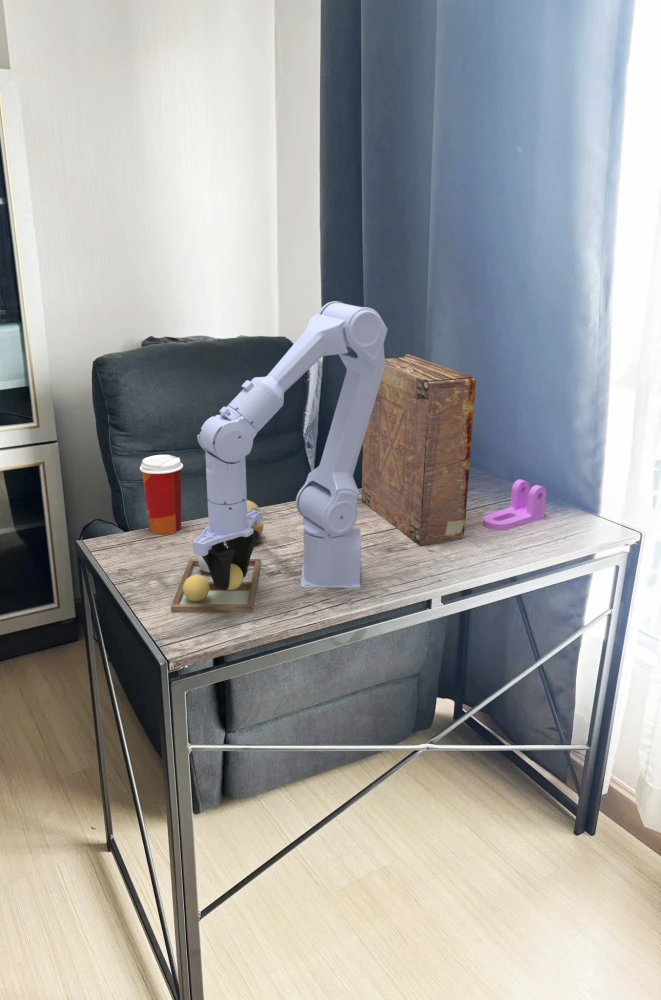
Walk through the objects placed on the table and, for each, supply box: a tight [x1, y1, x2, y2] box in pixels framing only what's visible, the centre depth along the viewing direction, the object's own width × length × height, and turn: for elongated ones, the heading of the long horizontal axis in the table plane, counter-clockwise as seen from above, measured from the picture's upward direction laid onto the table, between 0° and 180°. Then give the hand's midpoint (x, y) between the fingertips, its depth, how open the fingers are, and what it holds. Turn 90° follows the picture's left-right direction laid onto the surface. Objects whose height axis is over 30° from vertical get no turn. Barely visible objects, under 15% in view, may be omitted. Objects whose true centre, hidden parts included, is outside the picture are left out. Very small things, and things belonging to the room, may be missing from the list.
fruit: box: [247, 499, 264, 537], centre depth 144 cm, size 8×8×8 cm
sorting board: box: [170, 558, 262, 614], centre depth 127 cm, size 12×17×2 cm
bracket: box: [482, 478, 547, 532], centre depth 155 cm, size 13×6×7 cm, turn 126°
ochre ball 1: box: [183, 574, 209, 601], centre depth 123 cm, size 4×4×4 cm
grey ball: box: [197, 555, 211, 574], centre depth 132 cm, size 4×4×4 cm
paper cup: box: [139, 454, 184, 536], centre depth 148 cm, size 8×8×14 cm
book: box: [361, 353, 477, 547], centre depth 152 cm, size 25×9×30 cm, turn 23°
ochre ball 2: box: [226, 564, 244, 590], centre depth 122 cm, size 4×4×4 cm
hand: (230, 581), depth 122 cm, fingers closed on ochre ball 2, 4 cm apart
